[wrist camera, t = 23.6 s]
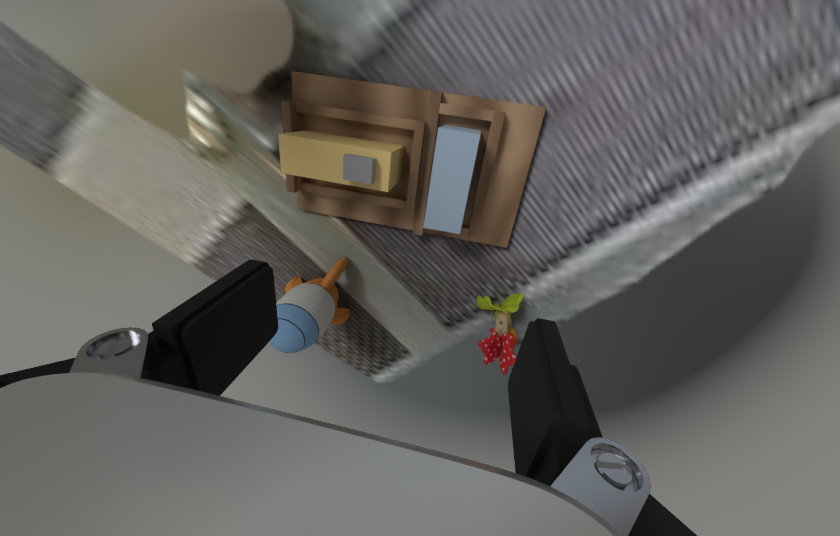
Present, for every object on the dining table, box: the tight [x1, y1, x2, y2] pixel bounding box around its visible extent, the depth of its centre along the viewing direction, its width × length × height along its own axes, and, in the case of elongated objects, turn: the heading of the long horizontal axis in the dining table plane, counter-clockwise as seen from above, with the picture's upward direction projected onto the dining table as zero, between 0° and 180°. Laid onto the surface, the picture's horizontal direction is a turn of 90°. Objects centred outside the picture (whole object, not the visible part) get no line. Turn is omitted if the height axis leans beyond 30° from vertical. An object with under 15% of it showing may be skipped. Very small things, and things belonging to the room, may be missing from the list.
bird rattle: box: [477, 293, 523, 374], centre depth 42 cm, size 6×11×9 cm
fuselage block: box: [278, 130, 404, 192], centre depth 35 cm, size 12×4×7 cm, turn 82°
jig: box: [281, 71, 546, 248], centre depth 37 cm, size 28×16×3 cm, turn 82°
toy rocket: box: [269, 257, 350, 353], centre depth 44 cm, size 10×11×15 cm
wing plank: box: [424, 125, 481, 234], centre depth 35 cm, size 4×10×6 cm, turn 172°
